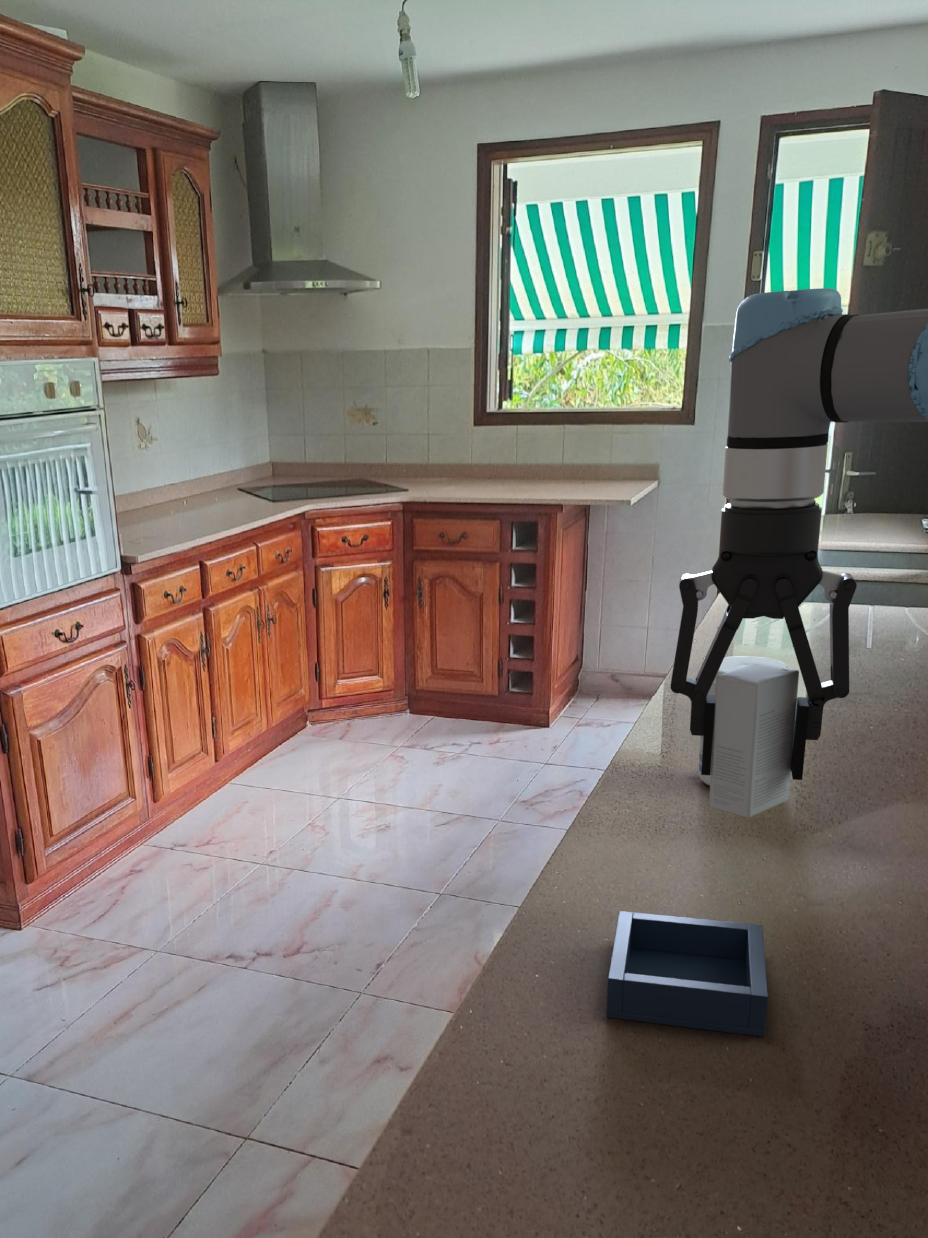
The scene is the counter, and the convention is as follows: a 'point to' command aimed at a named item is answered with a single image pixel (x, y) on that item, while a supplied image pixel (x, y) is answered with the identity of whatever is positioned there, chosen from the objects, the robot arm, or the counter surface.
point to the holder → (688, 973)
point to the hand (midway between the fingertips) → (750, 771)
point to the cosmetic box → (753, 738)
